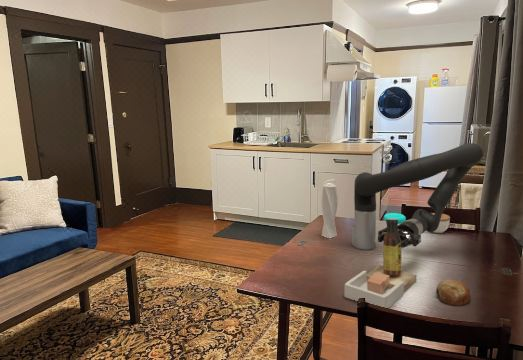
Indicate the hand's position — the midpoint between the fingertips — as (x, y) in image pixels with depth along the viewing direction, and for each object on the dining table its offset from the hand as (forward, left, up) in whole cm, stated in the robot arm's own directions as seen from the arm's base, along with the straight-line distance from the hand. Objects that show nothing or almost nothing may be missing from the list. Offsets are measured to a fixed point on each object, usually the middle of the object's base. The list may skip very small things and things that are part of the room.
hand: (390, 242), depth 136 cm
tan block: (+1, -8, -13) cm, 15 cm away
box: (0, -12, -15) cm, 19 cm away
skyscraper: (-43, +27, -15) cm, 53 cm away
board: (0, 0, -15) cm, 15 cm away
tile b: (0, -10, -12) cm, 16 cm away
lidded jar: (-6, +66, -15) cm, 68 cm away
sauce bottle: (0, +1, -12) cm, 12 cm away
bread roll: (+21, +2, -16) cm, 26 cm away
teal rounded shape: (-20, +48, -15) cm, 54 cm away
